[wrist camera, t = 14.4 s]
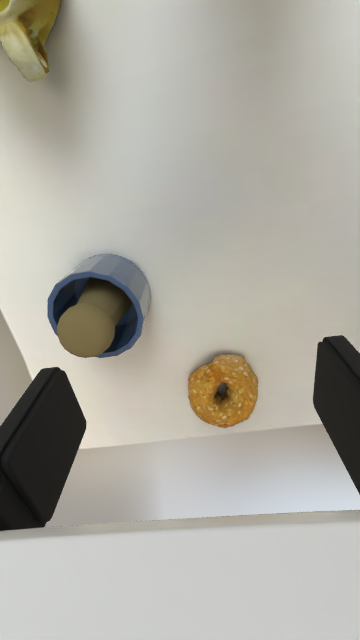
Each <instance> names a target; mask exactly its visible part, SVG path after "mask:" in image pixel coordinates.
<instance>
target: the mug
mask: <svg viewBox="0 0 360 640" xmlns="http://www.w3.org/2000/svg"><path fill="white" fill-rule="evenodd" d="M60 2H61V0H0V42H1V43H2V46H3V48H4V50H5V52H6V53H7V55H8V56H9V58H10V60H11V61H12V62H13V63H14V65H15V66H16V67H17V68H18V70H19V71H20V72H21V73H22V75H23V76H24V77H25V78H26V79H27V80H28V81H30V82H33V81H37V80H40V79H42V78H43V77H45V76H46V74H47V73H48V72H49V64H48V58H47V53H46V51H45V49H44V44H45V42H46V40H47V37H48V35H49V33H50V31H51V29H52V27H53V25H54V23H55V19H56V16H57V14H58V11H59V7H60Z"/></svg>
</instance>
